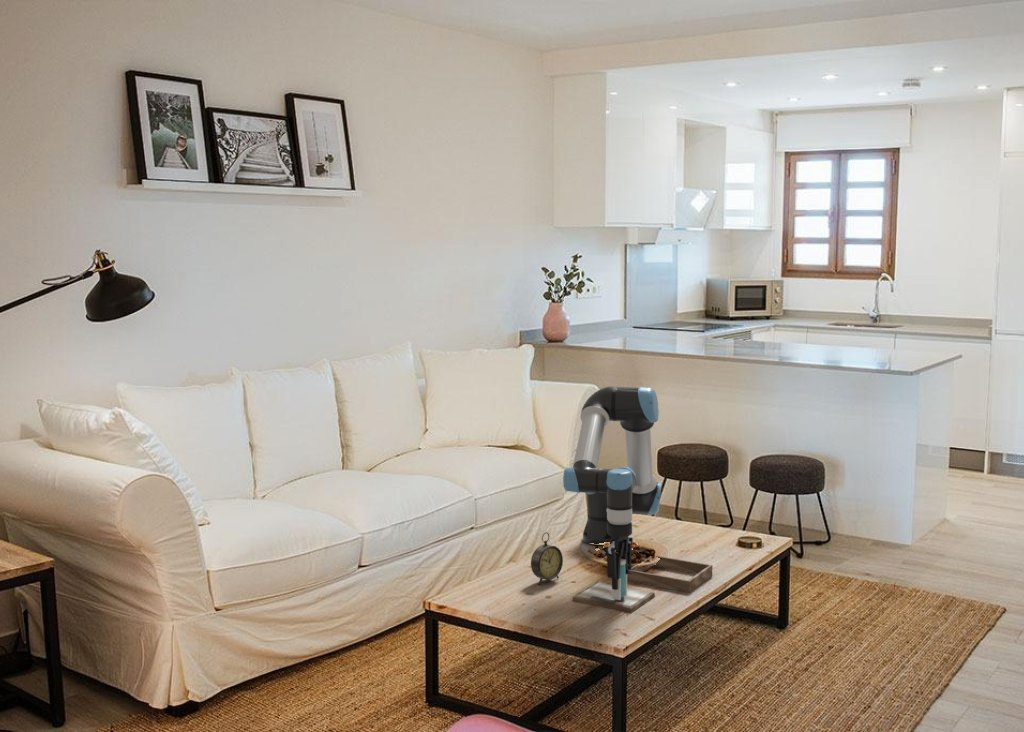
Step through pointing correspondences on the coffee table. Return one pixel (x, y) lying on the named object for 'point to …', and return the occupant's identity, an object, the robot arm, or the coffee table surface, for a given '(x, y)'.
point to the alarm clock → (546, 561)
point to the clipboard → (603, 597)
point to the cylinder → (622, 579)
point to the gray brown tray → (668, 582)
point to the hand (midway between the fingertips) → (619, 596)
